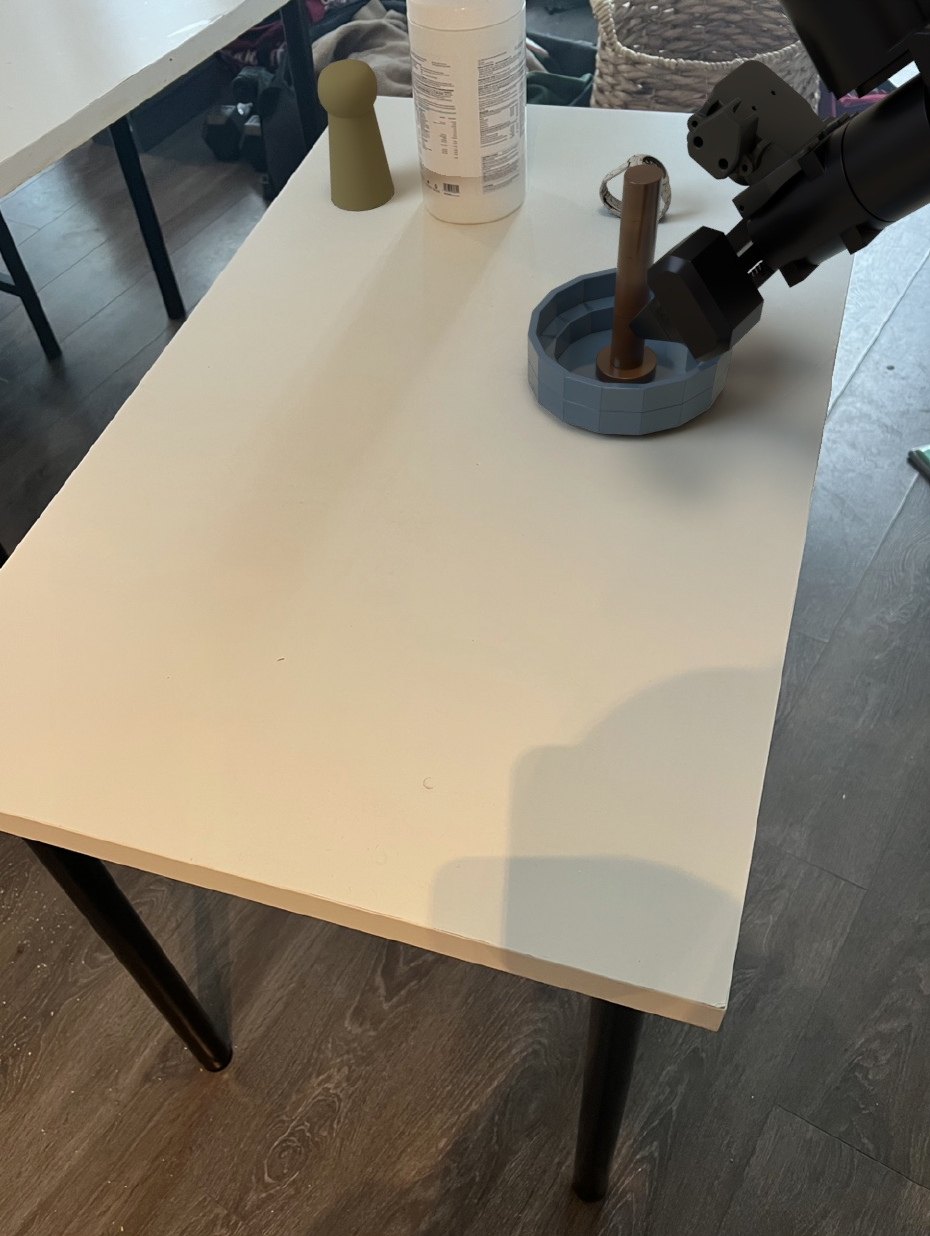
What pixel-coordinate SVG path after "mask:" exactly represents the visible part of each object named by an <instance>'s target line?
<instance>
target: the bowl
mask: <svg viewBox="0 0 930 1236" xmlns="http://www.w3.org/2000/svg"><path fill="white" fill-rule="evenodd" d="M616 272H617V267H613V268H607V269H604V270H603V269H602V270H598V271H594V272H588V273H585V274H581V275H578V276H576V277H574V278H572V279H570V280H568V281H566V282H564V283H562V284H561V285H559V286H556V287H555V288H553V289H551V290H550V291H549V292H548V293H547V294H546V295H545V296H544V297H543V298H542V300H541V301H540V302H539V303H538V304H537V305H536V306H535V307H534V308H533V309H532V311H531V314H530V318H529V319H530V320H529V324H528V330H527V381H528V383H529V385H530V388H531V390H532V392H533V394H534V396H535V398H536V401H537V402H538V404H539V405H541V406H542V407H543V408H544V409H546V410H547V411H549V412H550V413H551V414H552V415H554V416H555V417H556V418H557V419H559V420H560V421H561V422H564V423H566V424H569V425H572V426H575V427H577V428H582V429H583V430H587V431H591V432H593V433H597V434H604V435H623V436H624V435H628V436H643V435H647V434H652V433H655V432H660V431H665V430H669V429H674V428H678V427H681V426H682V425H684V424H686V423H687V422H689V421H691V420H693V419H695V418H696V417H698V416H699V415H701V414H703V413H705V412H707V411H708V410H709V409H710V408H711V407H712V405H713V404H714V403H715V401H716V400H717V399H718V397H719V395H720V394H721V393H722V391H723V389H725V386H726V384H727V378H728V373H729V368H730V362H731V358H732V353H733V348H734V346H733V347H732V348H731V349H730V350H729V351H727V352H725V353H723V354H722V355H720V356H718V357H716V358H714V359H712V360H710V361H708V362H706V363H705V362H701V361H698V360H695V359H694V357H693V356H692V354H691V353H690V351H689V349H688V348H687V346H686V345H685V344H682V343H675V342H667V341H657V340H648V339H646V340H645V346H647V347H649V348H650V349H652V350H653V351H654V353H655V354H656V357H657V367H656V374H655V376H654V378H653V379H652V380H651V381H650V382H649V383H646V384H629V383H604V382H601V381H600V380H599V379H598V378H597V376H596V372H595V368H596V358H597V355H598V354H599V352H600V351H601V350H602V349H603V348H605V347H607V346H609V345H611V338H612V325H613V311H614V298H615V285H616ZM654 296H655V295H654V294H653V292H652V291H651V294H650V300H651V299H652V298H653V297H654Z"/></svg>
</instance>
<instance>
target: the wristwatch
mask: <svg viewBox="0 0 930 1236" xmlns="http://www.w3.org/2000/svg"><path fill="white" fill-rule="evenodd" d="M641 164H648V165H654V166H657V167H659V168H660V169H661V170H662V171H663V183H662V193H661V200H662V203H663V207H662V209H661V208H660V211H659V220H661V218H662V217H663V216H665V215H666V214H667V212H668V211H669V209H670V206H671V202H672V187H671V184H670V175H669V172H668V169H667V168H666V166H665V165H664V164H663V162H661V160H660V159H658V158H657V157H655V156H654V155H651V154H646V153H645V154H644V153H637V154H634V155H632V156H631V157H629V158H628V159H627V160H626V161H625V162H623V163H621V164H620V165H619V166H618V167H616V168H614V169H612V170H611V171H610V172H608V173H606V175H605V176H604V177H603V178H602V181H601V183H600V186H599V191H598V192H599V193H598V195H599V198H600V201H601V202H602V204H603V206H604V208H605V209H607V210H608V213H609V214H611V215H613V216H615V217H616V218H619V219H621V206H622V200H620V199H618V198H617V197H615V196H613V194H612V193H611V192H610V190H609V188H608V186H607V185H608V182H609V181H611V180H613V178H616V177H617V176H619V175H620V174H622V173H625V171H626V170H627V169H629V168H630V167H633V166H636V165H641Z"/></svg>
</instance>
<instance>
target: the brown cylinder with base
mask: <svg viewBox="0 0 930 1236" xmlns="http://www.w3.org/2000/svg"><path fill="white" fill-rule="evenodd" d="M662 183H663V171H662V170H661V169H660V168H659V167H657V166H654V165H648V164H641V165H636V166H633V167H630V168H629V169H627V170H625V171H624V172H623V181H622V194H621V195H622V196H621V201H622V206H621V218H619V220H620V222H619V232H618V233H619V235H618V245H617V246H618V247H617V261H616V268H617V272H616V285H615V298H614V311H613V325H612V338H611V345H609V346H607V347H605V348H603V349H602V350H601V351H600V352H599V354H598V355H597V358H596V368H595V372H596V376H597V378H598V379H599V380H600V381H601V382H604V383H629V384H646V383H649V382H650V381H651V380H652V379H653V378H654V376H655V374H656V367H657V357H656V354H655V353H654V351H653V350H652V349H650V348H649V347H647V346H645V340H646V339H638V338H636V337H635V336H634V334H633V333H632V331H631V329H630V328H629V323H630V322H631V321H632V319H633V318H634V317H635V316H636V315H637V314H638V313H639V312H640V311H641V310H642V309H643V308H644V307H645V306H646V304H647V303H648V302H649V301H650V294H651V289H650V287H649V286H648V284H647V269H648V268H649V267H651V266H652V265H653V264H654V263H655V257H656V256H655V255H656V248H657V239H658V238H657V237H658V229H659V221H660V219H659V211H660V210H661V202H662V201H661V200H662V198H661V193H662Z"/></svg>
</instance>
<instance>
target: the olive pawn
mask: <svg viewBox="0 0 930 1236" xmlns="http://www.w3.org/2000/svg"><path fill="white" fill-rule="evenodd" d="M317 96H318V99H319V102H320V104H321V106H322V107H323V109H324V110H325V111H326V112H327V131H328V151H329V153H328V156H329V177H330V199H331V203H332V204H333V205H334V206H336V207H337V208H339V209H342V210H344V211H345V210H346V211H352V212H359V211H368V210H373V209H377V208H378V207H381V206H383V205H385V204H386V203H387V202H388V201H390V200H391V199H392V197H393V196H394V194H395V185H394V181H393V178H392V174H391V170H390V169H391V168H390V166H389V163H388V162H389V161H388V158H387V153H386V150H385V149H386V148H385V146H384V142H383V138H382V134H381V130H380V125H379V122H378V118H377V113H376V110H375V109H376V108H375V106H374V105H375V103H376V100H377V97H378V80H377V76H376V73H375V71H374V70H373V68H372V67H371V66H370V65H369V63H367V62H366V61H362V60H360V59H355V58H353V59H352V58H347V59H341V60H337V61H334V62H331V63H329V64H328V65H327V66H325V67H324V68H323V69H322V70H321V72H320V73H319V76H318V79H317Z"/></svg>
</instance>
